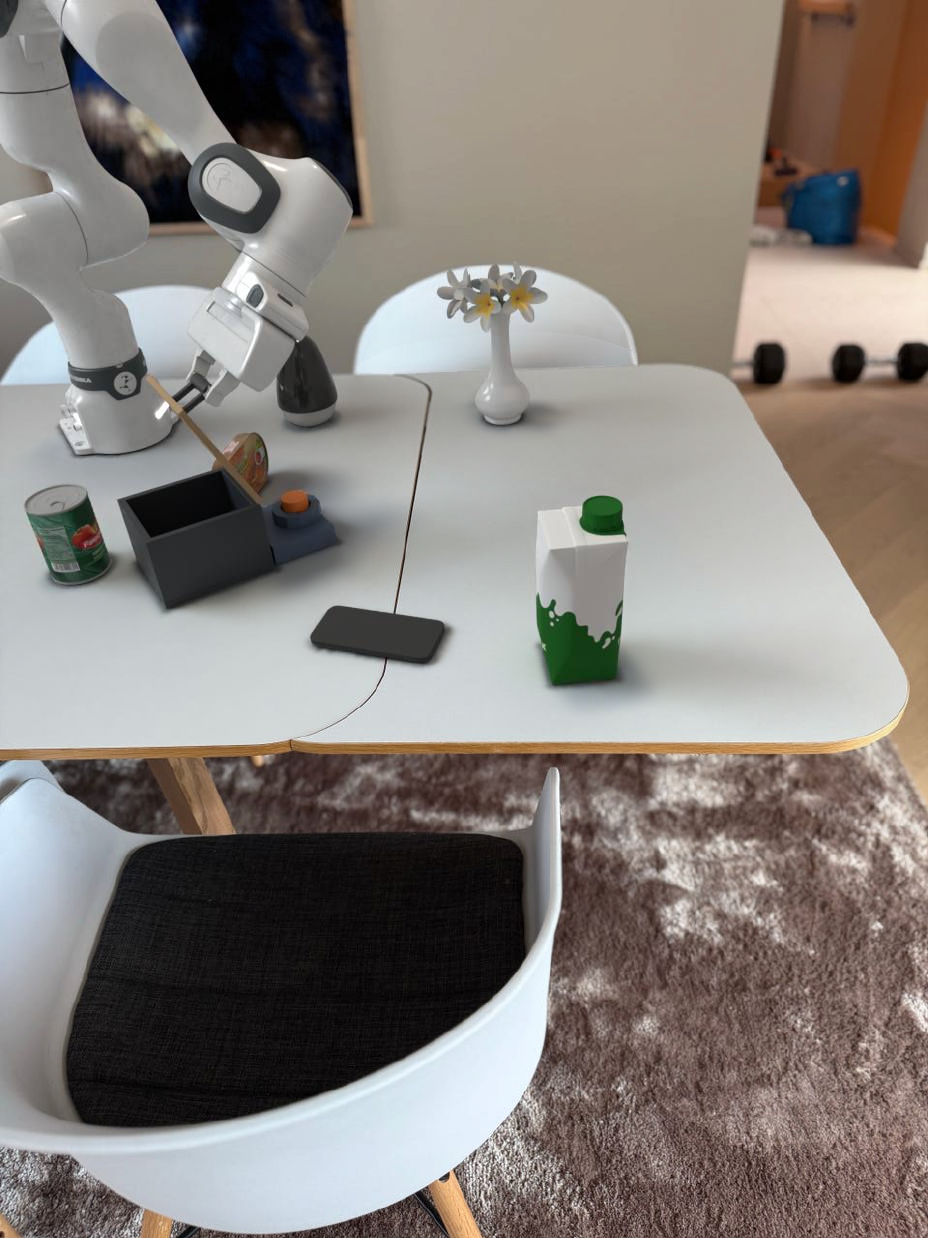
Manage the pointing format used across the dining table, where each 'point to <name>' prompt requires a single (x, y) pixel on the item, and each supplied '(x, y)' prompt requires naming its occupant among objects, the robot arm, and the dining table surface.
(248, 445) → the tin
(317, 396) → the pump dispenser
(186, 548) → the dark grey bin
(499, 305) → the flower vase
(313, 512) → the panel
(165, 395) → the lid
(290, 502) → the release button
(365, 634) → the phone
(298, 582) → the dining table surface
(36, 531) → the canned tomato
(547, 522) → the milk carton
